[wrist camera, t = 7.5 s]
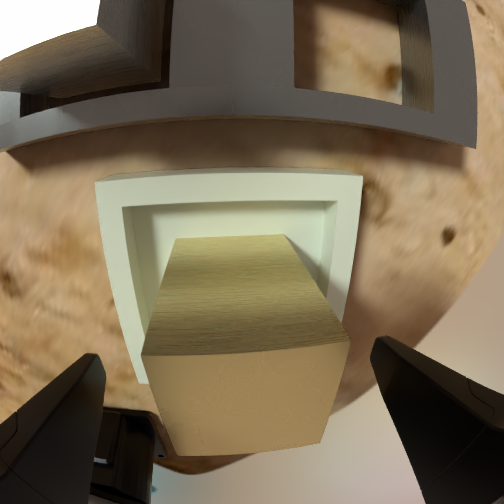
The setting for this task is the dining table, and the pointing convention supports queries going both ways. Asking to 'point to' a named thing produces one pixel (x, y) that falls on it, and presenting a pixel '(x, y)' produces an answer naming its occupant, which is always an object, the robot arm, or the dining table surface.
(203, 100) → the rail
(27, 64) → the grey square block
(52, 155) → the dining table surface
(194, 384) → the beige wooden block
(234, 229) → the tray
